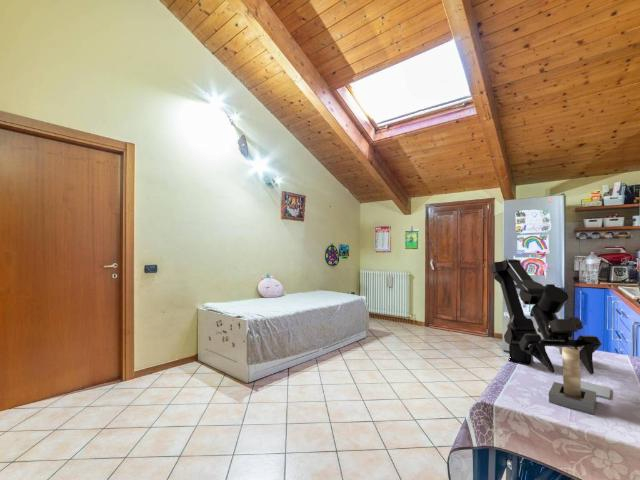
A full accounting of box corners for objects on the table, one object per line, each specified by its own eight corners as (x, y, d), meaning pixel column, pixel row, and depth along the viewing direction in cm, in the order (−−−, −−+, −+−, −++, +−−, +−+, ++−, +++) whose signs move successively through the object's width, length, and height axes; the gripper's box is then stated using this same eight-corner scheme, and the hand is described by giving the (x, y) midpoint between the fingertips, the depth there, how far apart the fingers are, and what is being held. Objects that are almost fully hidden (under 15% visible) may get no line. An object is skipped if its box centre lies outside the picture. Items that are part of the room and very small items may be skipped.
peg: (563, 401, 81) (561, 349, 82) (565, 397, 84) (563, 346, 84) (580, 406, 79) (578, 352, 79) (582, 401, 81) (579, 349, 81)
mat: (571, 390, 87) (571, 388, 87) (574, 381, 93) (574, 379, 93) (609, 399, 82) (609, 397, 82) (610, 389, 87) (610, 387, 87)
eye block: (548, 402, 81) (548, 392, 81) (554, 390, 88) (554, 381, 88) (593, 414, 75) (593, 404, 75) (596, 401, 81) (595, 391, 81)
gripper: (522, 306, 88) (544, 357, 77) (595, 307, 85) (629, 360, 74) (511, 326, 96) (530, 375, 85) (578, 327, 92) (607, 379, 81)
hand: (572, 373), depth 81 cm, fingers open, 9 cm apart
